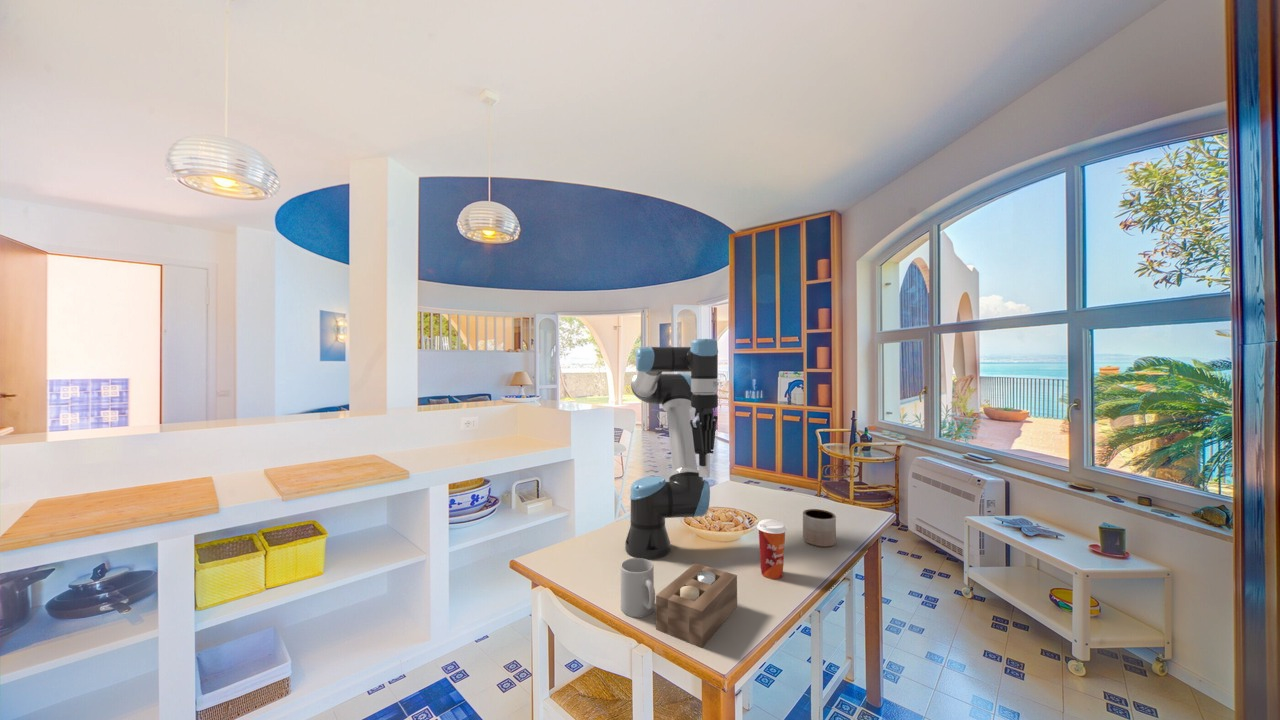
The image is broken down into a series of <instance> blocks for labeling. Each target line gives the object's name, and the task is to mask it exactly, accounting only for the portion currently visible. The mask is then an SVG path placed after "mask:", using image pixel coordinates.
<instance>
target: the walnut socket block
mask: <svg viewBox="0 0 1280 720" xmlns="http://www.w3.org/2000/svg"><path fill="white" fill-rule="evenodd" d="M702 571H709V572H712V573H714V574H715V582H714V583H713V584H712V585H710V584H707V583H704V582H700V581H697V574H698V573H699V572H702ZM684 586H694V587H696V588H698V589H699V598H698V599H697V600H696V601H692V600H689V599H686V598H683V597H680V589H681V588H682V587H684ZM737 607H738V575H737V574H735V573H730V572H727V571H724V570H721V569H717V568H714V567H710V566H707V565H703V564H701V563H700V564H699V563H696V562H695V563H693V564H692V565H691V566H690V567H689V568H688V569H686V570H685V571H684V572H683V573H681V574H680V575H678V577H676V578H675V579H674V580H673V581H672V582H670V583H669V584H668V585H667V586H666V587H664V588H663V589H662V590H660V591H659V592H658V593H657V594H655V630H656V631H659V632H661V633H664V634H666V635H669V636H671V637H674V638H675V639H676V638H677V639H679V640H682V641H684V642H686V643H689V644H691V645H694V646H696V647H698V648H701V649H703V648H704V647H705V646H706V644H707V643H708V642H709V641H710V640H711V638H712V637H713V636H715V633H716V632H717V631H718V630H719V629H720V627H721V626H722V625H723V623H725V621H726V620H727V619H728V618H729V617H730V615H731V614H732V613H733V612H734V611H735V609H736V608H737Z"/></svg>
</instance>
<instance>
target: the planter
mask: <svg viewBox="0 0 1280 720" xmlns="http://www.w3.org/2000/svg"><path fill="white" fill-rule="evenodd" d="M802 539H803V541H805V543H807V544H809V545H811V546H814V547H815V546H816V547H818V548H819V547H820V548H829V547H833V546H835V545H836V544H837V516H836V514H835V513H833V512H832V511H828V510H826V509H825V510H824V509H819V508H817V509H816V508H808V509H805V510H803V512H802Z"/></svg>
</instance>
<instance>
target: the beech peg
mask: <svg viewBox="0 0 1280 720" xmlns="http://www.w3.org/2000/svg"><path fill="white" fill-rule="evenodd" d="M680 597H683V598H686V599H689V600H692V601H696V600H697V599H698V598H699V589H698V588H696V587H694V586H684V587H682V588H681V589H680Z"/></svg>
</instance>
